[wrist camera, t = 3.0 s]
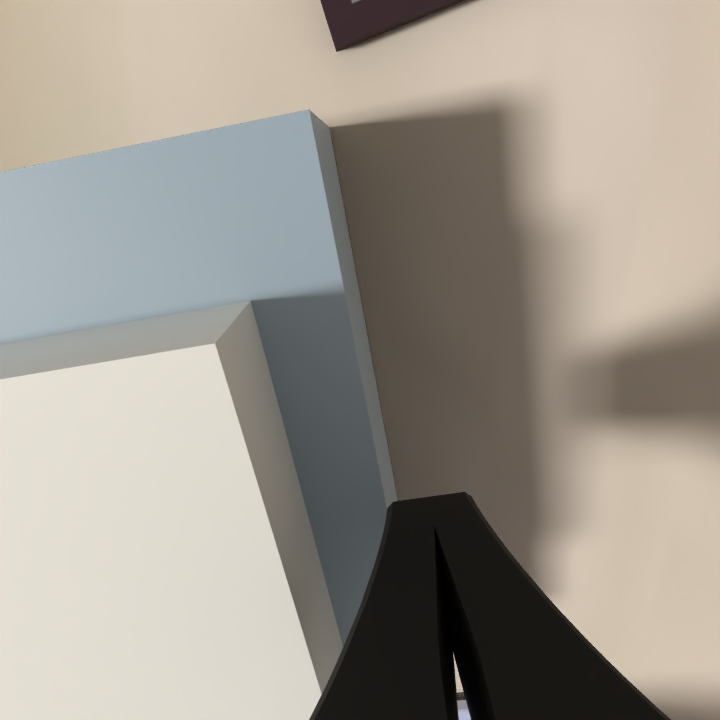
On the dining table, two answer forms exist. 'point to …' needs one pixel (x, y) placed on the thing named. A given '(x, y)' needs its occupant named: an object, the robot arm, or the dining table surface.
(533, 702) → the robot arm
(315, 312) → the plate
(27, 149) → the dining table surface
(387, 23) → the chocolate bar
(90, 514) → the tile
